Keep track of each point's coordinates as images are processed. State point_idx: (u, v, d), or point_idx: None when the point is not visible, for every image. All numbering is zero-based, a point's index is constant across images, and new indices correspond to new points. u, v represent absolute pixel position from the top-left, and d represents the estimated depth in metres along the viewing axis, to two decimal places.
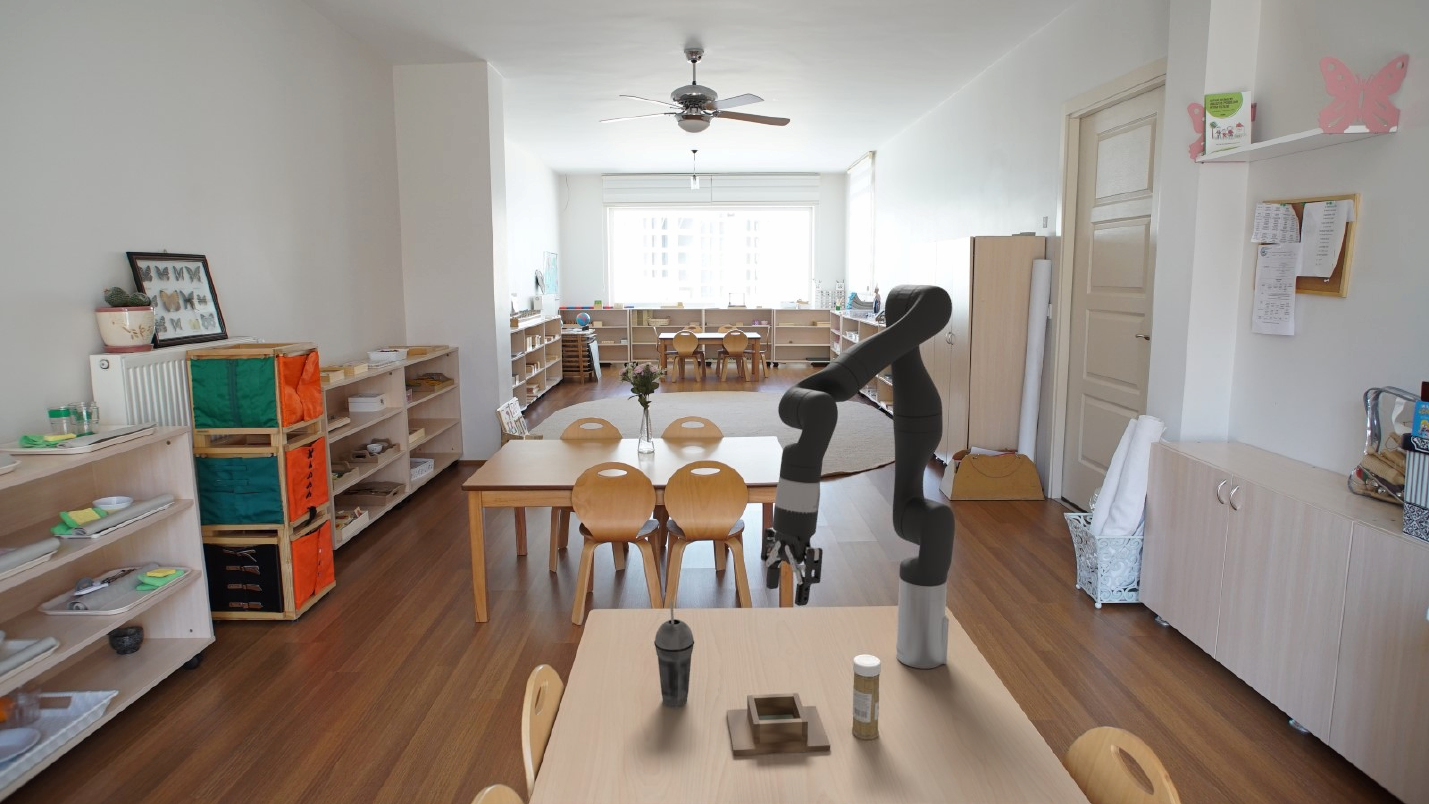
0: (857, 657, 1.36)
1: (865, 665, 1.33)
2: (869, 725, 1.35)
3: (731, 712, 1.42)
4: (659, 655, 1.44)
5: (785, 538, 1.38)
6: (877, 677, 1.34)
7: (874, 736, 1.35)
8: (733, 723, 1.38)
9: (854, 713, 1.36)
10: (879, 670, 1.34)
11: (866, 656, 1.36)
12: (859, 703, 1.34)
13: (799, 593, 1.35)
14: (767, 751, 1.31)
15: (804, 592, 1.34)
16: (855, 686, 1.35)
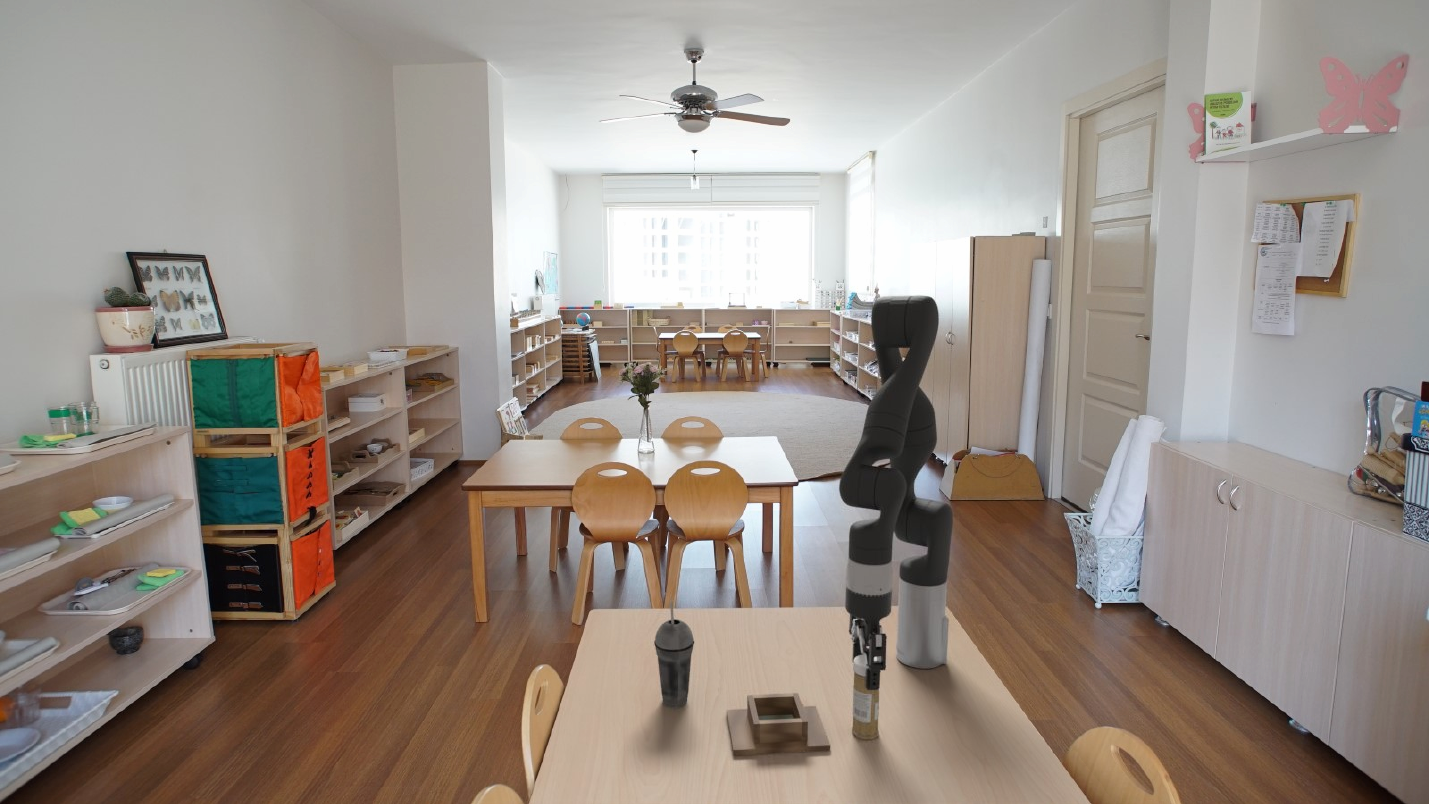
0: (857, 657, 1.36)
1: None
2: (869, 725, 1.35)
3: (731, 712, 1.42)
4: (659, 655, 1.44)
5: (860, 617, 1.34)
6: None
7: (874, 736, 1.35)
8: (733, 723, 1.38)
9: (854, 713, 1.36)
10: None
11: None
12: (859, 703, 1.34)
13: (868, 677, 1.30)
14: (767, 751, 1.31)
15: (872, 677, 1.30)
16: (855, 686, 1.35)
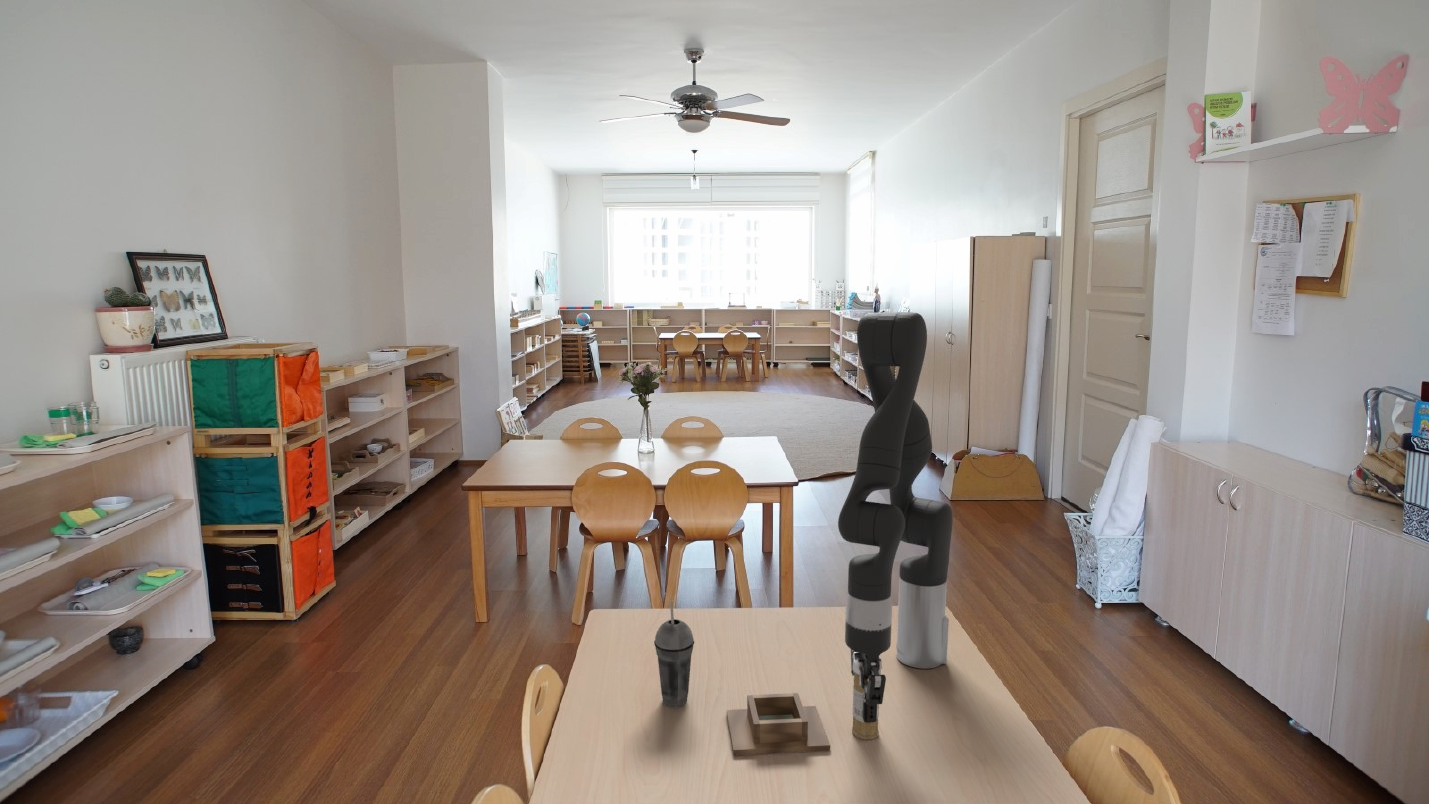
0: None
1: None
2: (869, 725, 1.35)
3: (731, 712, 1.42)
4: (659, 655, 1.44)
5: None
6: None
7: (874, 736, 1.35)
8: (733, 723, 1.38)
9: (854, 713, 1.36)
10: None
11: None
12: (859, 703, 1.34)
13: (865, 710, 1.33)
14: (767, 751, 1.31)
15: (869, 710, 1.33)
16: (855, 686, 1.35)
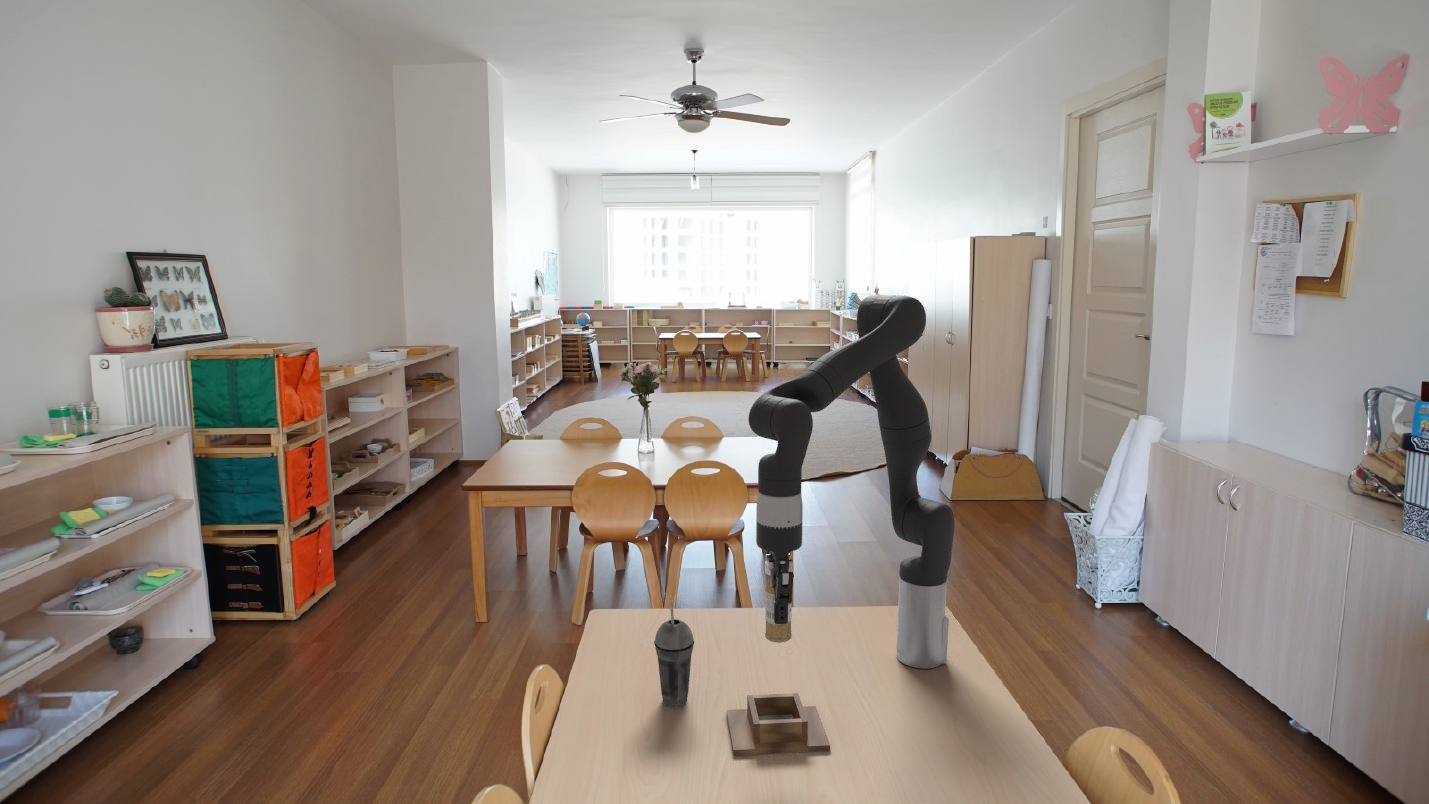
0: None
1: None
2: (781, 627, 1.32)
3: (731, 712, 1.42)
4: (659, 655, 1.44)
5: (771, 552, 1.33)
6: None
7: (786, 639, 1.33)
8: (733, 723, 1.38)
9: (766, 616, 1.33)
10: None
11: None
12: (770, 605, 1.32)
13: (776, 611, 1.31)
14: (767, 751, 1.31)
15: (779, 611, 1.30)
16: (767, 588, 1.32)
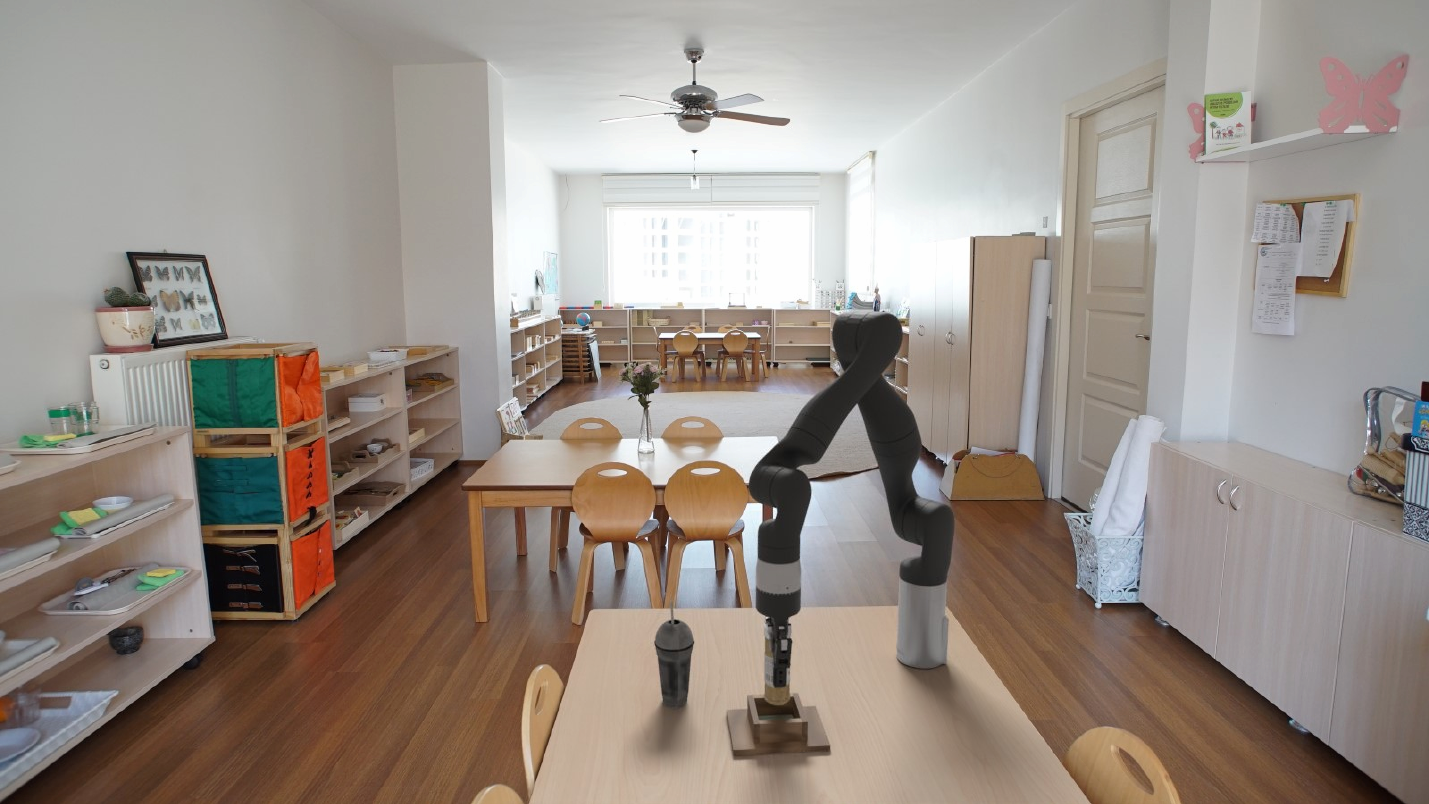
0: None
1: None
2: (780, 690, 1.34)
3: (731, 712, 1.42)
4: (659, 655, 1.44)
5: None
6: None
7: (785, 701, 1.35)
8: (733, 723, 1.38)
9: (765, 678, 1.35)
10: None
11: None
12: (769, 668, 1.34)
13: (774, 675, 1.33)
14: (767, 751, 1.31)
15: (778, 675, 1.32)
16: (765, 651, 1.34)
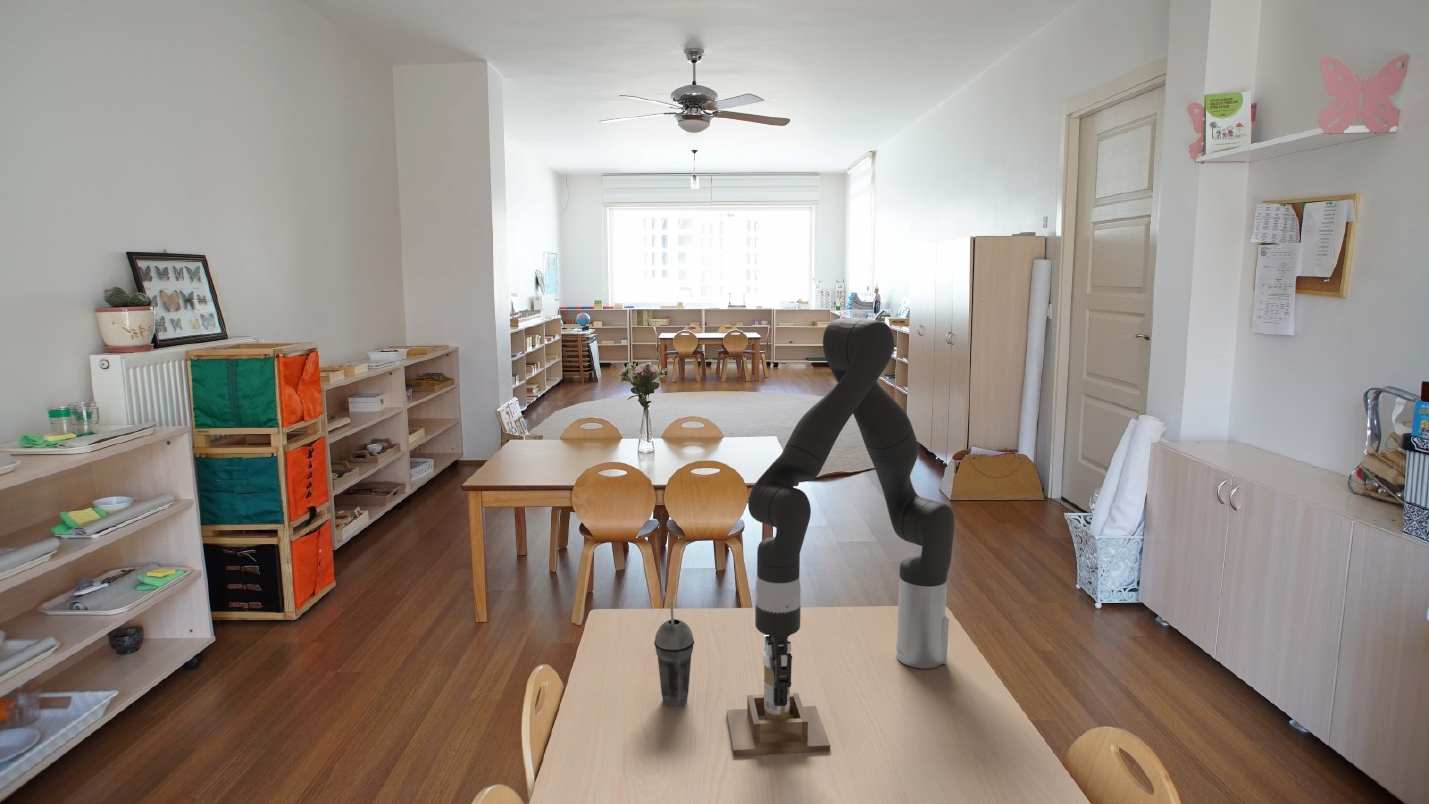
0: None
1: None
2: (780, 717, 1.35)
3: (731, 712, 1.42)
4: (659, 655, 1.44)
5: None
6: None
7: None
8: (733, 723, 1.38)
9: (765, 705, 1.36)
10: None
11: None
12: (769, 695, 1.34)
13: (775, 694, 1.32)
14: (767, 751, 1.31)
15: (779, 694, 1.31)
16: (765, 679, 1.35)
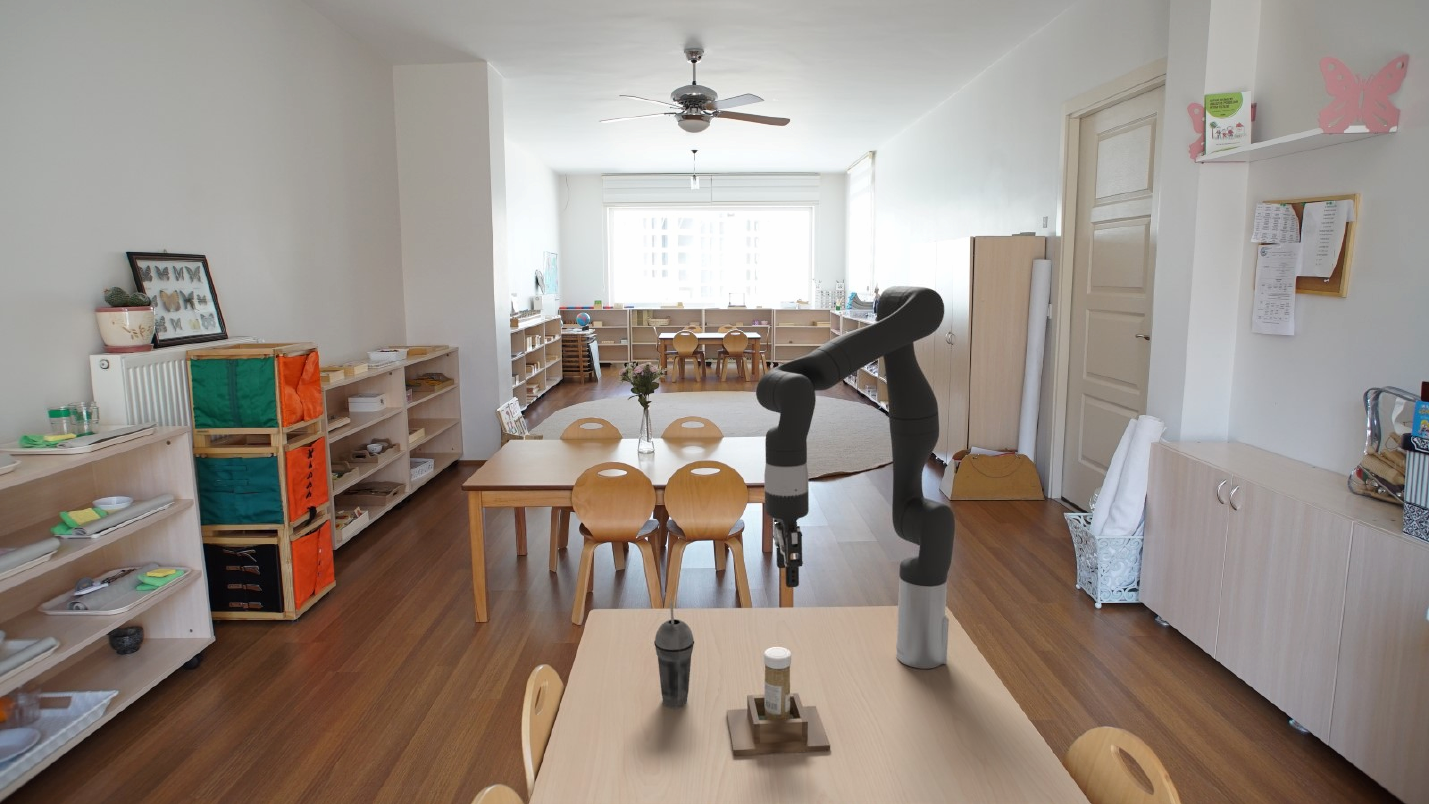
0: (768, 649, 1.36)
1: (775, 657, 1.33)
2: (780, 717, 1.35)
3: (731, 712, 1.42)
4: (659, 655, 1.44)
5: (779, 520, 1.39)
6: (787, 669, 1.34)
7: None
8: (733, 723, 1.38)
9: (765, 705, 1.36)
10: (789, 662, 1.34)
11: (777, 648, 1.36)
12: (769, 695, 1.35)
13: (787, 575, 1.36)
14: (767, 751, 1.31)
15: (790, 574, 1.35)
16: (766, 678, 1.35)
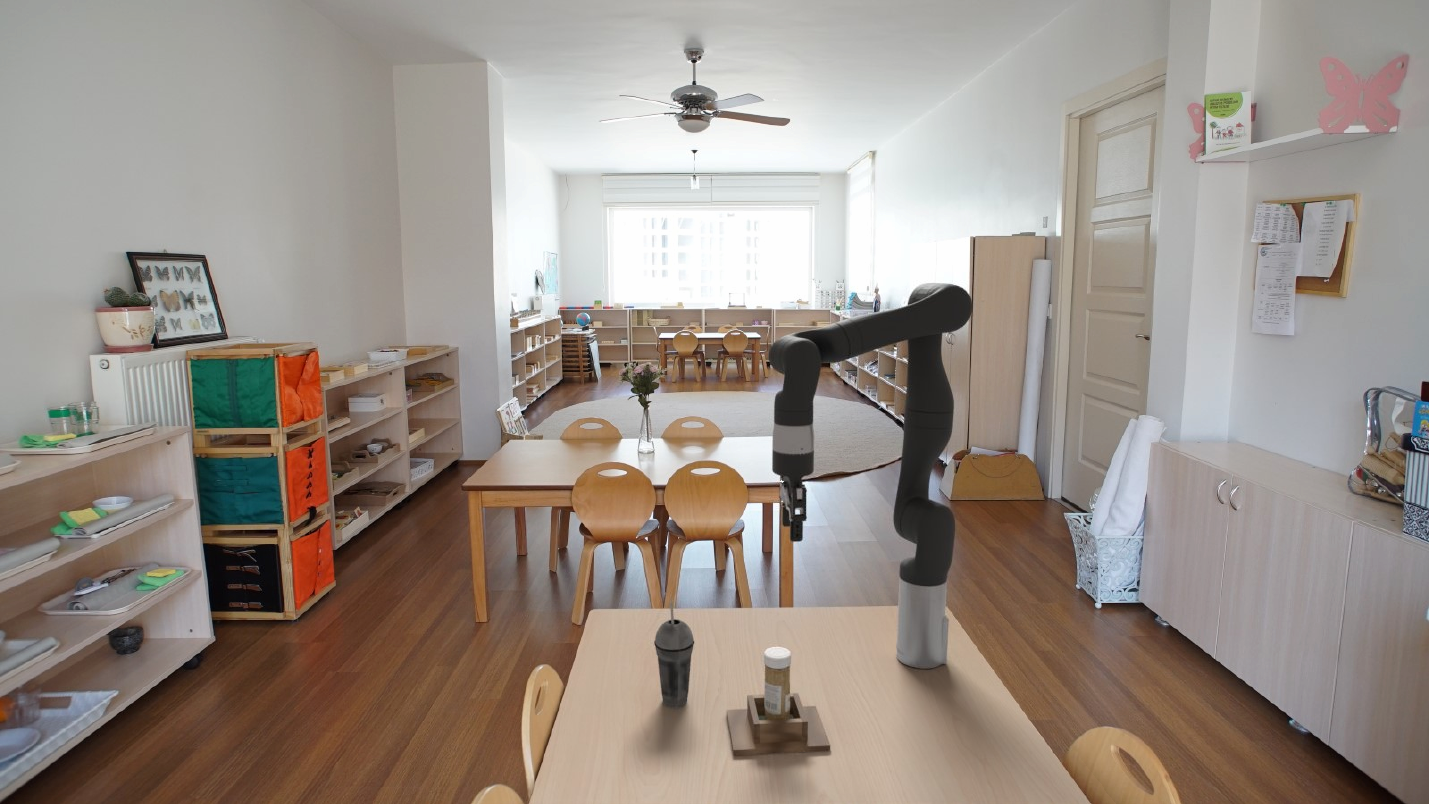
0: (768, 649, 1.36)
1: (775, 657, 1.33)
2: (780, 717, 1.35)
3: (731, 712, 1.42)
4: (659, 655, 1.44)
5: (786, 478, 1.47)
6: (787, 669, 1.34)
7: None
8: (733, 723, 1.38)
9: (765, 705, 1.36)
10: (789, 662, 1.34)
11: (777, 648, 1.36)
12: (769, 695, 1.35)
13: (791, 530, 1.43)
14: (767, 751, 1.31)
15: (795, 529, 1.42)
16: (766, 678, 1.35)
